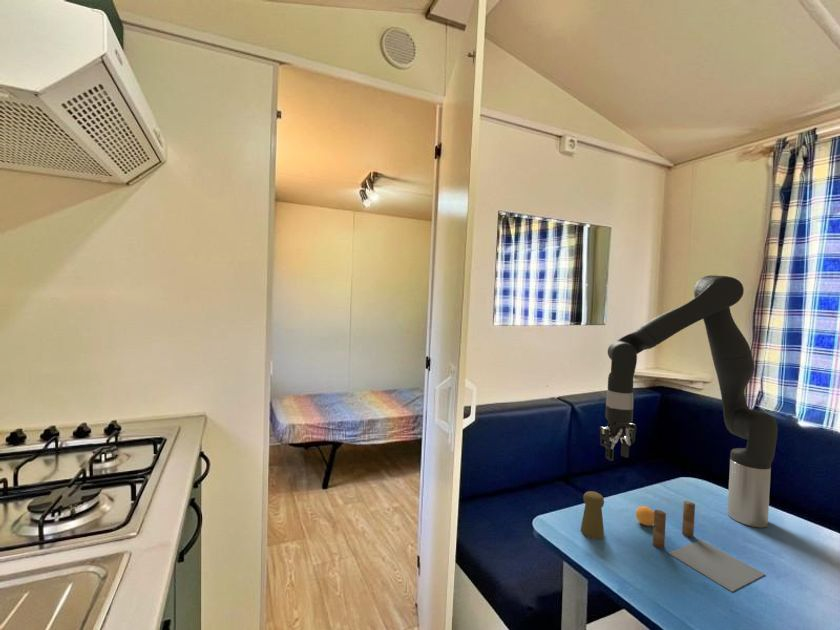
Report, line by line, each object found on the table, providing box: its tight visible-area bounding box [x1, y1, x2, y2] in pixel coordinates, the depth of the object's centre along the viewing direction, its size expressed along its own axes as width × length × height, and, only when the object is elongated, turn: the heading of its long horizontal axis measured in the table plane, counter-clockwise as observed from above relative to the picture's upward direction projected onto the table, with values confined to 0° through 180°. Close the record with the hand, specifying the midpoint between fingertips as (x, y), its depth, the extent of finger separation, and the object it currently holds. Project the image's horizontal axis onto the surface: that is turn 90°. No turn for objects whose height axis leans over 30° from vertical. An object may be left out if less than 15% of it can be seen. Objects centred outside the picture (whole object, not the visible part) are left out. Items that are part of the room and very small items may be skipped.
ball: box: [635, 505, 654, 527], centre depth 109 cm, size 5×5×5 cm
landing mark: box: [668, 539, 766, 593], centre depth 93 cm, size 14×14×1 cm
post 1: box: [652, 509, 667, 550], centre depth 99 cm, size 3×3×9 cm
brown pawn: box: [580, 490, 605, 540], centre depth 104 cm, size 6×6×11 cm
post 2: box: [681, 500, 696, 539], centre depth 105 cm, size 3×3×9 cm
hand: (617, 457), depth 118 cm, fingers open, 6 cm apart
